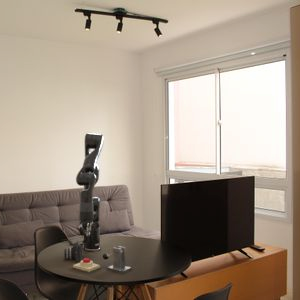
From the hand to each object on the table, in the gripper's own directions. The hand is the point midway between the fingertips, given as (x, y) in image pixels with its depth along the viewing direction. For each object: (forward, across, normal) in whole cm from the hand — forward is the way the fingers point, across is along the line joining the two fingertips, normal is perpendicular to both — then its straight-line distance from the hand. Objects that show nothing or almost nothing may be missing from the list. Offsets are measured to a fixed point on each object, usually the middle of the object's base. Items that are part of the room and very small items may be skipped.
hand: (86, 242), depth 205 cm
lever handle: (+8, -9, +11) cm, 16 cm away
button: (+10, +1, +1) cm, 10 cm away
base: (+14, -9, +14) cm, 22 cm away
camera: (+14, -8, -16) cm, 23 cm away
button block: (+14, +1, +1) cm, 14 cm away
